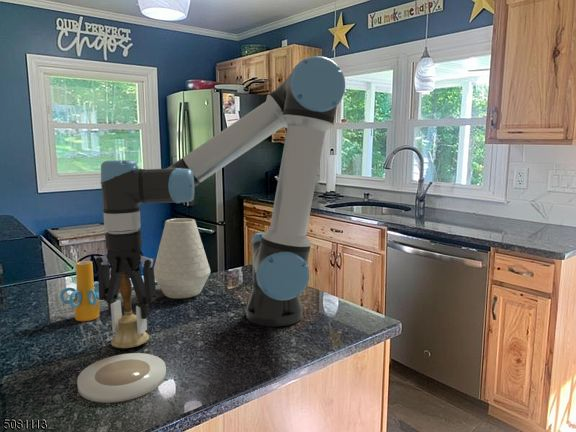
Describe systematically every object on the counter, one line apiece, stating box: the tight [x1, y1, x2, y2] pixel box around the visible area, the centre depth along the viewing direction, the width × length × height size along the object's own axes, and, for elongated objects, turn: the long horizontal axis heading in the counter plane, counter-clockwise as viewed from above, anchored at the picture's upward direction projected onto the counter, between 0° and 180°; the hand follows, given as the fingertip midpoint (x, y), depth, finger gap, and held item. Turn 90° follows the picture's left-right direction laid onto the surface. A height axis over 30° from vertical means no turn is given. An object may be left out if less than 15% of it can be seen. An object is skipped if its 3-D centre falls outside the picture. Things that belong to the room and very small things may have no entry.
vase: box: [154, 217, 212, 300], centre depth 135 cm, size 17×17×23 cm
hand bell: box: [110, 272, 150, 349], centre depth 99 cm, size 8×8×16 cm
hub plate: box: [76, 352, 167, 404], centre depth 85 cm, size 16×16×2 cm
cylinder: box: [59, 260, 101, 322], centre depth 115 cm, size 12×10×15 cm
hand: (129, 330), depth 100 cm, fingers closed on hand bell, 6 cm apart
